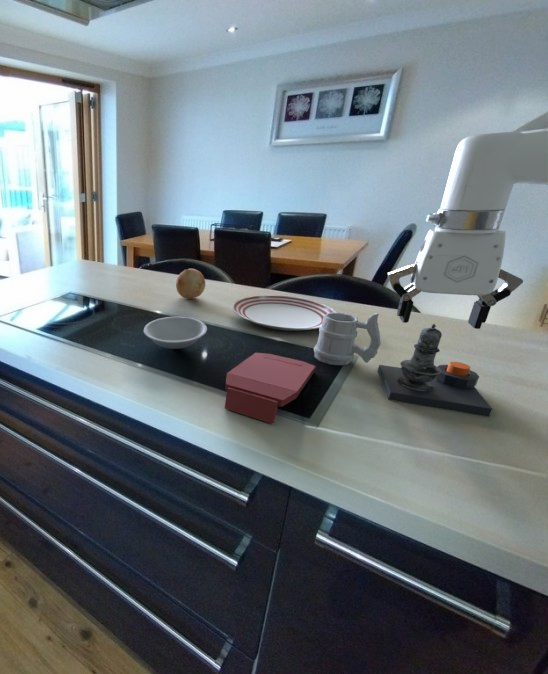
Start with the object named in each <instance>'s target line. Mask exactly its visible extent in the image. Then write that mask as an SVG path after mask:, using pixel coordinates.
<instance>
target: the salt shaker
mask: <svg viewBox="0 0 548 674" xmlns="http://www.w3.org/2000/svg"><path fill="white" fill-rule="evenodd" d="M430 326H431V327H425V328H423V329H422V330H421V331H420V334H419V335H418V336H419V337H418V340H417V343H415V344H414V345H413V348H414V351H413V355H412V357H411V358H410V359H405V360H402V361H400V363H399V364H400V366H401V367H400V368H401V369H402V373H403V375H404V376H405V377H400V378H398V380H397V381H398V383H399V384H401V385H402V386H404V387H407V388H409V389H413V390H417V391H431V390H433V386H432V385H431V384H430V383H429V382H430V381H433V380H434V379H435V378H436V377H437V375H438V374H440V373H441V370H440V369H439V368H438V366H436V365H435V359H436V355H437V353H439V352H440V349H439V348H438V347H439V345H440V342H441V338H442V335H443V334H442V331H440V330H439V329H437V328H436V327H437V325H436V324H435V323H433V324H431V325H430Z"/></svg>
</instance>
